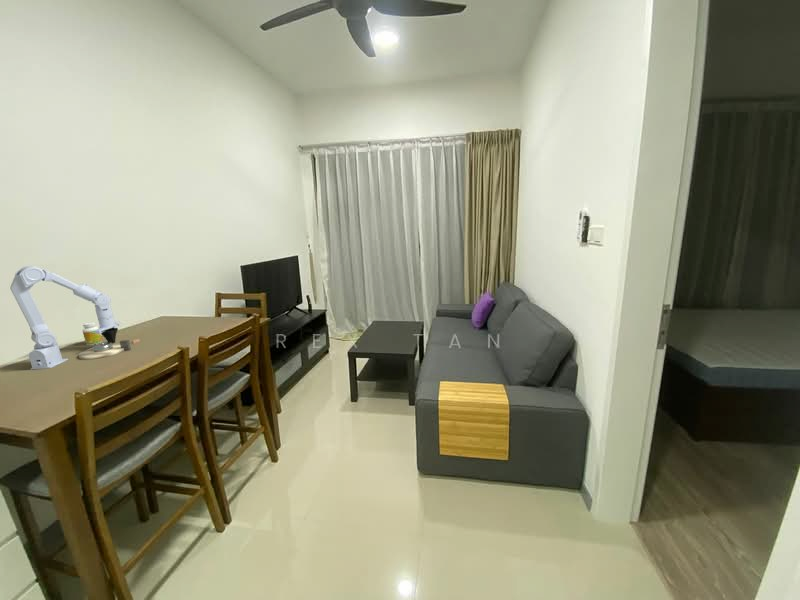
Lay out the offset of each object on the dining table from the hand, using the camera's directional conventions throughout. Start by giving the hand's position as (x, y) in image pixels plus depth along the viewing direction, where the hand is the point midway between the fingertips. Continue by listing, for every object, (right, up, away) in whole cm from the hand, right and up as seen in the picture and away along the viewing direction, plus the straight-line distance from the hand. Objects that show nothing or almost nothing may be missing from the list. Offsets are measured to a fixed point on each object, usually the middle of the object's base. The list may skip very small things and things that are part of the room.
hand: (112, 343), depth 162 cm
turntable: (+2, -4, -5) cm, 6 cm away
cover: (+1, -2, -6) cm, 6 cm away
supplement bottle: (-17, -2, +8) cm, 18 cm away
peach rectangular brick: (+6, -1, +8) cm, 10 cm away
